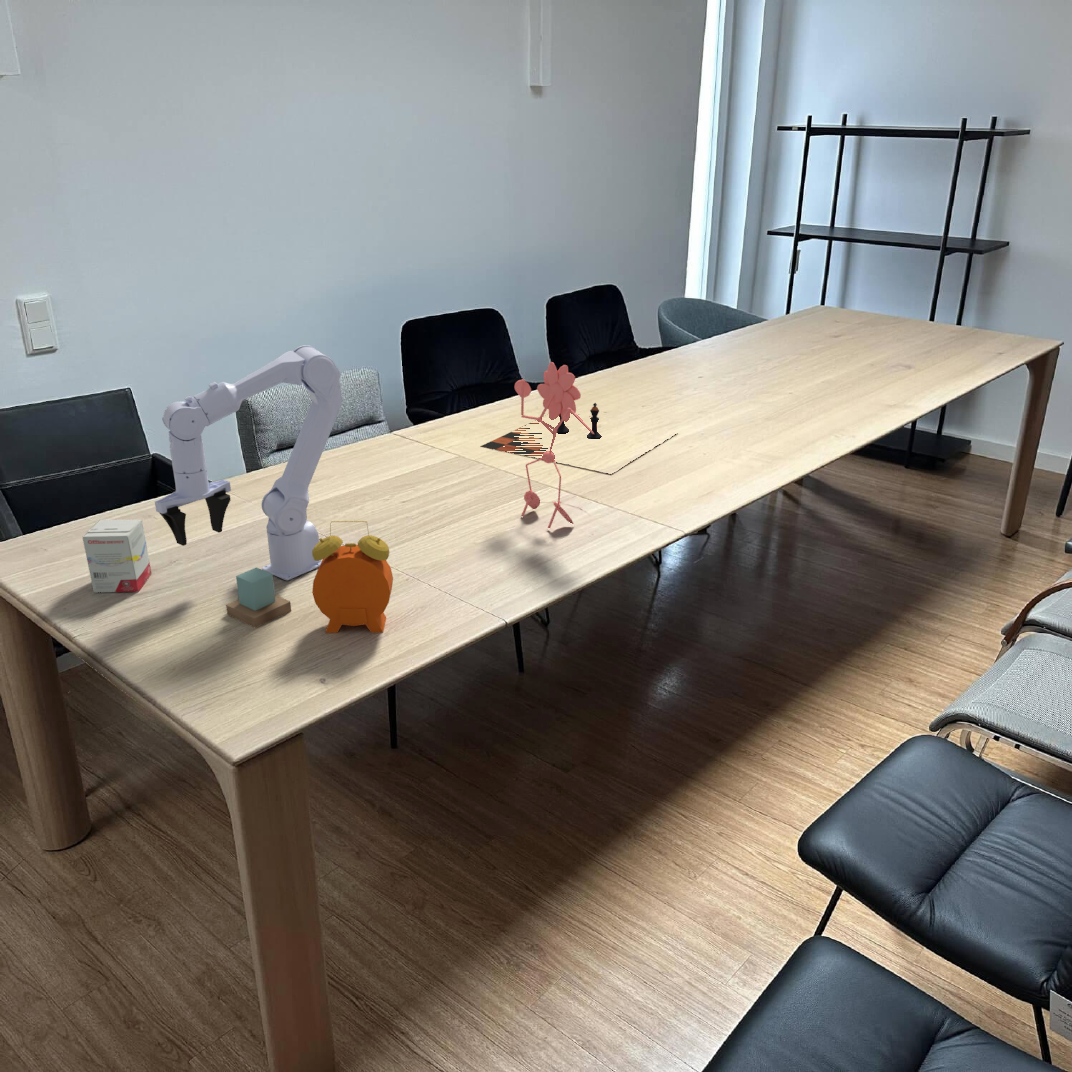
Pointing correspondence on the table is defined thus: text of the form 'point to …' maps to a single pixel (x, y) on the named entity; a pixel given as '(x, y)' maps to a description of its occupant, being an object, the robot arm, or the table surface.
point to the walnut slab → (259, 611)
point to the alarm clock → (352, 581)
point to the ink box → (117, 555)
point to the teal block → (255, 588)
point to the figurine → (558, 401)
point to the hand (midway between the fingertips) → (199, 537)
